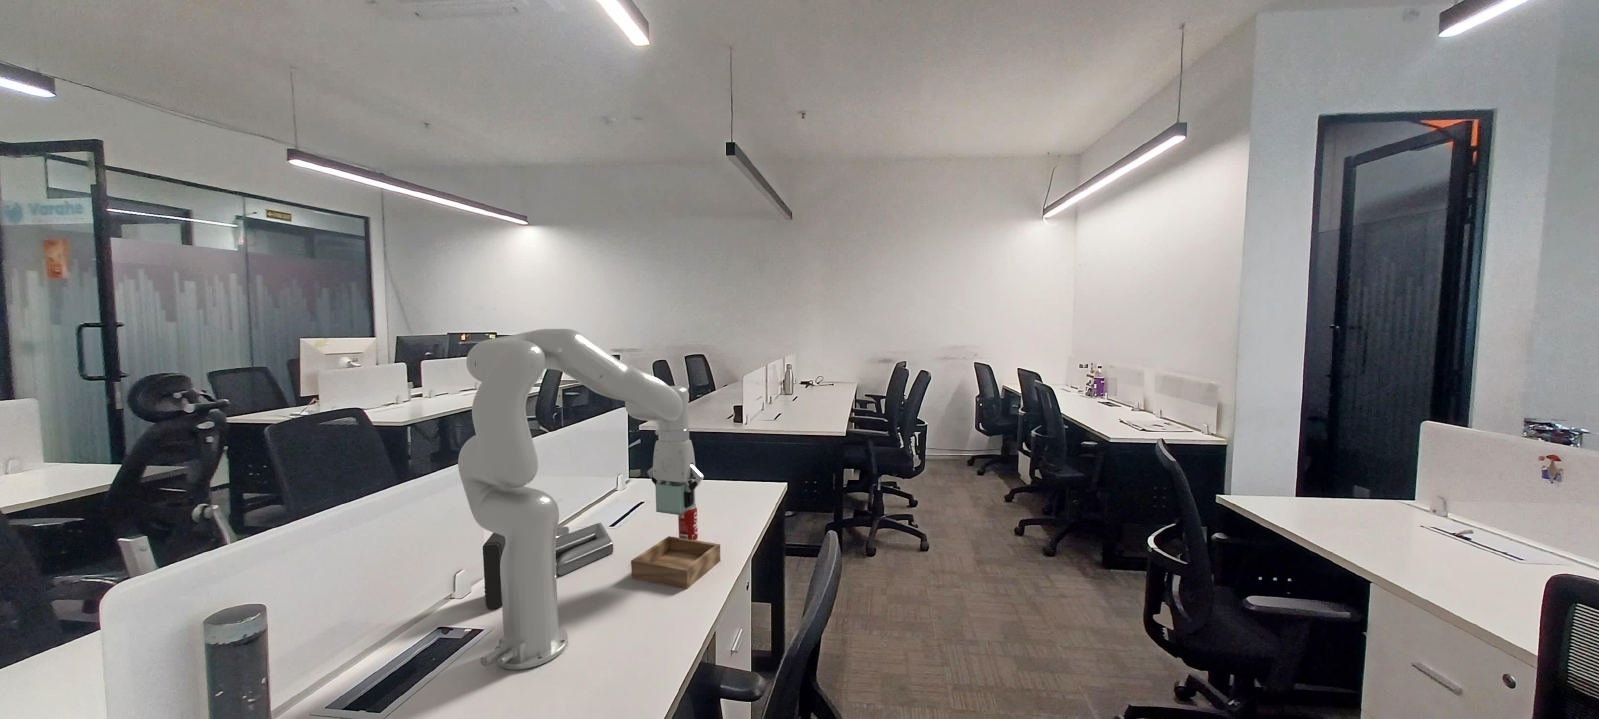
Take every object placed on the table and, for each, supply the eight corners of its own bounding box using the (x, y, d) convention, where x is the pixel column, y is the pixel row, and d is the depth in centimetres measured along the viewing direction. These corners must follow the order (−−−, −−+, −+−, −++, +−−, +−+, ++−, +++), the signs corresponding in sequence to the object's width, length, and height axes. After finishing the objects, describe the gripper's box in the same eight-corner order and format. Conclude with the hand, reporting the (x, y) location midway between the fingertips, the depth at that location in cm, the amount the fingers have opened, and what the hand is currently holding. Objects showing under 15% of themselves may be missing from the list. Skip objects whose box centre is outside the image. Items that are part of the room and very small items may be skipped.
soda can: (691, 541, 156) (690, 500, 156) (701, 546, 153) (700, 504, 152) (675, 546, 153) (674, 505, 152) (685, 552, 149) (684, 509, 148)
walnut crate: (687, 588, 129) (686, 570, 128) (631, 577, 134) (631, 560, 134) (720, 560, 143) (720, 544, 143) (669, 552, 149) (668, 536, 149)
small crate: (680, 515, 133) (679, 487, 133) (656, 511, 136) (655, 484, 135) (695, 505, 140) (694, 479, 139) (672, 502, 142) (671, 476, 142)
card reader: (495, 591, 128) (492, 529, 127) (514, 588, 129) (511, 527, 128) (483, 611, 119) (479, 544, 118) (503, 608, 120) (500, 542, 119)
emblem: (536, 518, 162) (629, 517, 162) (537, 535, 163) (629, 535, 162) (480, 559, 134) (591, 558, 134) (481, 580, 135) (592, 579, 134)
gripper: (635, 436, 136) (638, 505, 137) (695, 440, 130) (697, 513, 131) (654, 430, 143) (656, 496, 144) (711, 434, 137) (713, 503, 138)
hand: (675, 503), depth 138 cm, fingers closed on small crate, 7 cm apart
